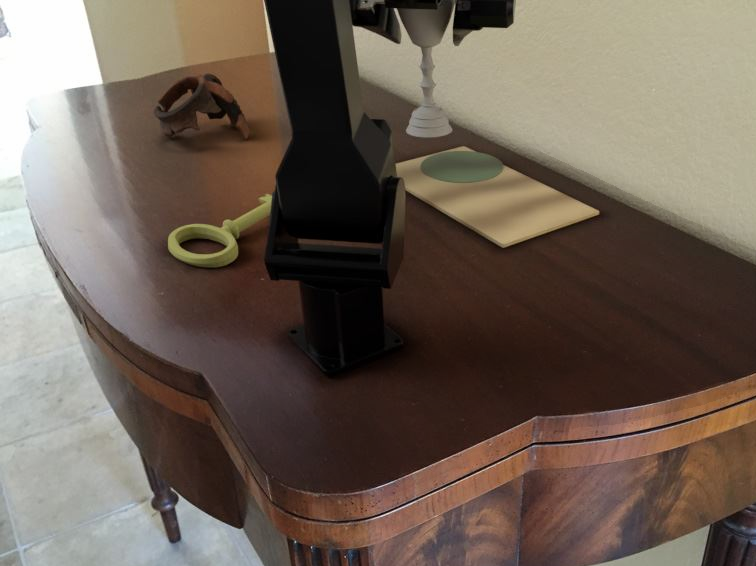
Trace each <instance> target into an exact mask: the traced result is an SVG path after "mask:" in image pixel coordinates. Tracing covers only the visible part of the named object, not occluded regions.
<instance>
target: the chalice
mask: <svg viewBox="0 0 756 566" xmlns="http://www.w3.org/2000/svg"><path fill="white" fill-rule="evenodd" d="M396 10H397V13H398V16H399V18H400V21H401V23H402V25H403V27H404V29H405V31H406V33H407V35H408V38H409V40H410V41H411V43H412V44H413V45H414V46H417V47H419V48H420V51H421V55H422V57H421V63H420V65H419V69H420V70H421V73H422V80H421V82H420V84H419V88H421V90H422V94H423V99H422V103H420V106H417V107H415V108H414V110H413V111H412V112H411V117H410V119H409V121H408V123H409V124H408V126H407V127H406V130H405V132H406V134H407V135H409V136H411V137H416V138H417V137H418V138H440V137H443V136H448V135H449V134H451V133H452V132H453V128H452V126H451V125H450V123H449V122H450V120H449V118H448V117H447V116H446V115H447V113H446V111H445V110H444V109H443V108H442V107H441V106H438V105H437V103H436V102H435V100H434V96H433V94H434V89H435V87H436V86H437V84H436V83H435V81H434V79H433V71H434V69H435V68H436V66H435V64H434V61H433V57H432V52H433V48H434V47H435V46H438V45H439V44H441V42H442V40H443V37H444V35H445V33H446V30H447V28H448V27H449V24H450V22H451V19H452V15H453V11H454V10H455V0H442V3H441V5H440V6H438V7H437V10H429V9H396Z"/></svg>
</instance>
